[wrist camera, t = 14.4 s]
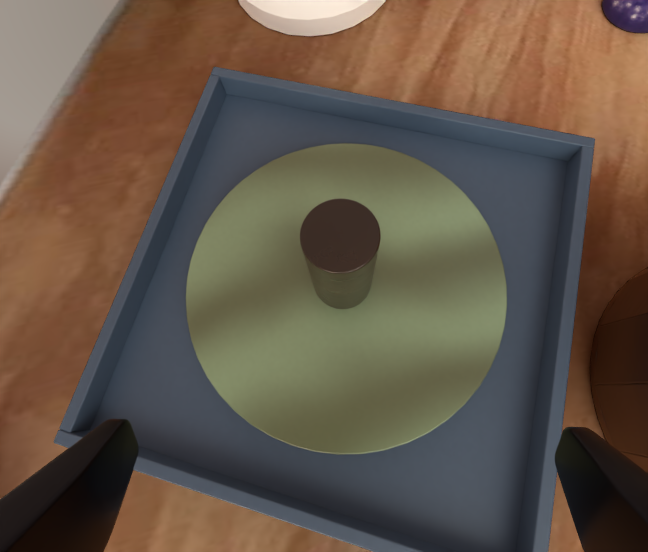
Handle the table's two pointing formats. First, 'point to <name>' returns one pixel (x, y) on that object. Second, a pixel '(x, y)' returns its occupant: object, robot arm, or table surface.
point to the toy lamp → (627, 14)
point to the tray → (399, 462)
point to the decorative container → (310, 14)
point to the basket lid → (346, 298)
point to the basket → (623, 370)
